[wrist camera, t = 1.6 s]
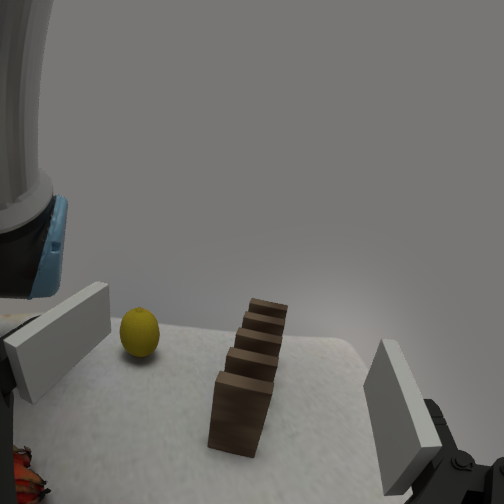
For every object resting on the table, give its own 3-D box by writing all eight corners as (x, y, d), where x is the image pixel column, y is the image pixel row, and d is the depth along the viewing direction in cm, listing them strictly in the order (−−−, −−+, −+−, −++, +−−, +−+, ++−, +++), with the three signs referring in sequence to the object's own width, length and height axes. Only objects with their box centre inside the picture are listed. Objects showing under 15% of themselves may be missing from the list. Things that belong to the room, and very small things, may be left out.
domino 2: (233, 379, 41) (243, 317, 38) (235, 372, 42) (245, 311, 39) (269, 387, 40) (284, 325, 37) (270, 380, 42) (285, 319, 39)
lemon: (122, 344, 43) (120, 297, 41) (158, 345, 45) (159, 299, 43) (120, 367, 38) (117, 317, 36) (160, 369, 40) (161, 319, 38)
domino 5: (207, 447, 29) (215, 381, 26) (211, 437, 30) (219, 370, 27) (253, 458, 28) (272, 394, 25) (256, 447, 30) (274, 383, 27)
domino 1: (239, 362, 45) (249, 302, 42) (241, 356, 46) (251, 298, 43) (272, 369, 44) (287, 310, 41) (274, 363, 45) (287, 305, 43)
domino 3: (225, 399, 37) (235, 334, 34) (228, 391, 38) (238, 327, 35) (265, 408, 36) (281, 344, 33) (266, 399, 38) (282, 336, 35)
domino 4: (217, 421, 33) (226, 355, 30) (220, 412, 34) (230, 346, 31) (259, 431, 32) (277, 366, 29) (261, 422, 34) (278, 357, 31)
